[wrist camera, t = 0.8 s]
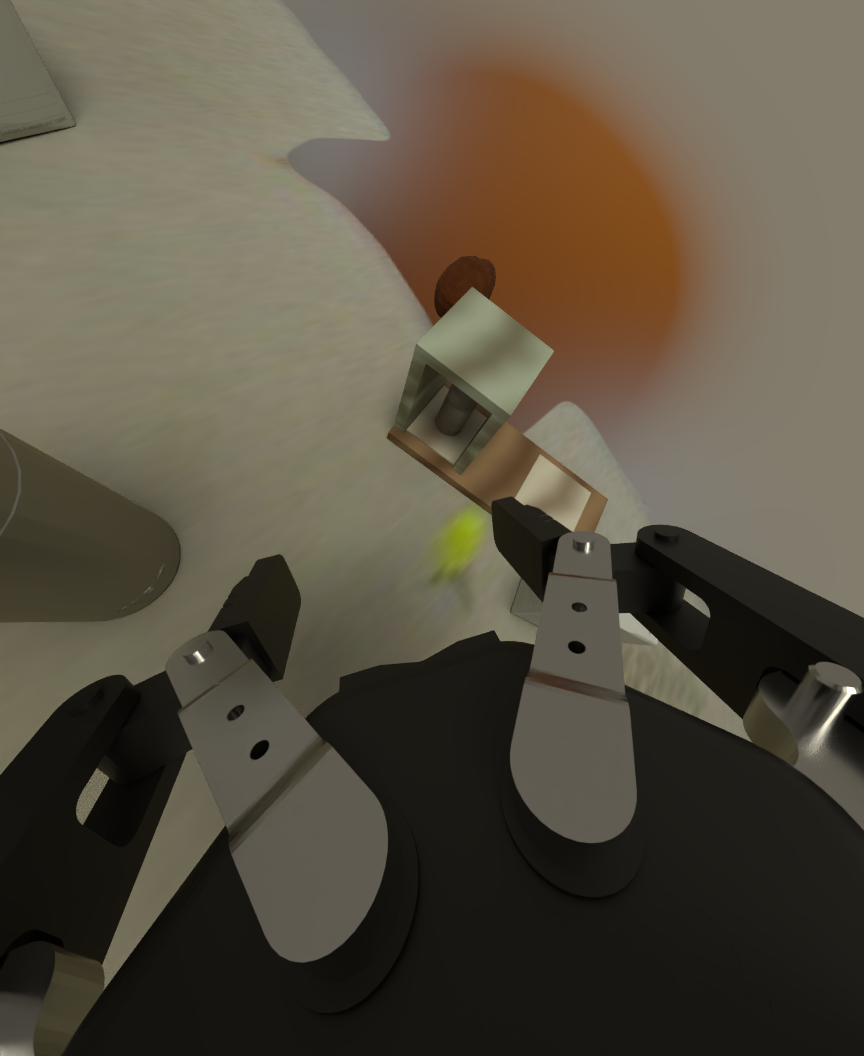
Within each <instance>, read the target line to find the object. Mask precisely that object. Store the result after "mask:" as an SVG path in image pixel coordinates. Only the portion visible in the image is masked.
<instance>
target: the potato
mask: <svg viewBox="0 0 864 1056" xmlns="http://www.w3.org/2000/svg"><path fill="white" fill-rule="evenodd" d="M495 279H496V275H495V268H494V266H493V264H492V263H491V262H490V261H489V260H486V259H479V258H477V257H476V256H467V257H461V258H459V259H458V260H456V261H455V262H454V263H452V264H451V265H450V266H449V267H448V268H447V269H446V270H445V271H444V272H443V274H442V275H441V277H440V278H439V280H438V282H437V285H436V290H435V299H434V300H435V308H436V311H437V314H438V315H439V316H440V317H441V318H442V317H443V316H444V315H445V314H446V313H447V312H448V311H449V310H450V309H451V308H452V307H453V306H454V305H455V304H456V303H457V302H458V301H459V300H460V299H461V298H462V297H463V296H464V295H465V294H466V293H467V292H468V291H469V290H470V289H471V288H472V287H473V288H475V289H476V290H477V291H478V292H480V293H481V294H482V295H484V296H485V297H486V298H487V299H489V298H490V296H491V293H492V291H493V288H494V285H495Z"/></svg>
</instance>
